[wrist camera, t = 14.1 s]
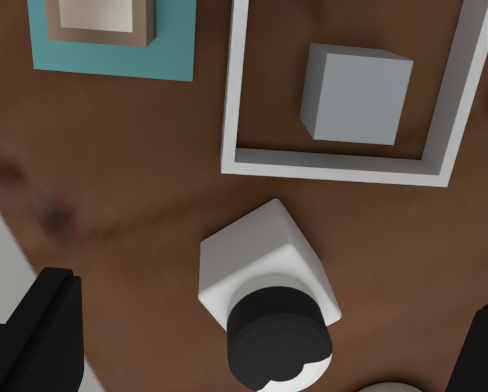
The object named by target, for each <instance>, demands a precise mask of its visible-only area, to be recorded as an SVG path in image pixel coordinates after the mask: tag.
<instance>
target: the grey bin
mask: <svg viewBox="0 0 488 392" xmlns="http://www.w3.org/2000/svg"><path fill="white" fill-rule="evenodd" d="M248 2H249V0H232V9H231V22H230V35H229V49H228V62H227V75H226V88H225V102H224V115H223V128H222V142H221V155H220V161H221V173H228V174H244V175H260V176H277V177H293V178H309V179H325V180H341V181H357V182H373V183H390V184H406V185H422V186H438V187H447V186H448V182H449V179H450V176H451V172H452V169H453V166H454V162H455V159H456V156H457V152H458V149H459V146H460V142H461V139H462V136H463V132H464V129H465V126H466V122H467V119H468V116H469V112H470V109H471V105H472V102H473V99H474V95H475V92H476V89H477V85H478V82H479V79H480V75H481V72H482V69H483V65H484V62H485V59H486V55H487V52H488V0H464V1H463V5H462V8H461V12H460V16H459V20H458V23H457V27H456V31H455V35H454V38H453V42H452V46H451V50H450V53H449V57H448V61H447V65H446V68H445V72H444V76H443V80H442V83H441V87H440V91H439V95H438V98H437V102H436V106H435V110H434V113H433V117H432V121H431V125H430V128H429V132H428V136H427V139H426V143H425V147H424V151H423V154H422V158H421V160H410V159H395V158H380V157H365V156H351V155H336V154H321V153H306V152H291V151H277V150H262V149H247V148H236V137H237V126H238V114H239V103H240V92H241V81H242V69H243V58H244V47H245V36H246V24H247V13H248Z"/></svg>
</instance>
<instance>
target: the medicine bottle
mask: <svg viewBox="0 0 488 392" xmlns="http://www.w3.org/2000/svg"><path fill="white" fill-rule="evenodd" d="M198 298H199V300H200V301H201V302H202V304H203V305H204V306H205V307H206V308H207V309H208V311H209V312H210V313H211V314H212V315H213V316H214V318H215V319H216V320H217V321H218V322H219V323H220V325H221V326H222V327H223V328H224V329H225V330H226V332H227V351H228V363H229V367H230V370H231V372H232V373H233V375H234V376H235V378H236V379H237V380H238V381H239V382H241V383H242V384H243V385H245V386H246V387H248V388H250V389H251V390H254V391H256V392H297V391H300V390H302V389H304V388H306V387H308V386H310V385H311V384H313V383H314V382H315V381H317V380H318V379H319V378H320V377H321V375H322V374H323V373H324V371H325V370H326V369H327V367H328V365H329V363H330V361H331V357H332V342H331V339H330V336H329V333H328V330H327V327H326V326H328V325H330V324H332V323H334V322H336V321H338V320H339V319H340V318H341V312H340V309H339V307H338V304H337V302H336V299H335V297H334V294H333V292H332V289H331V286H330V284H329V281H328V279H327V276H326V274H325V271H324V269H323V266H322V264H321V261H320V259H319V258H318V256H317V255H316V253H315V252H314V250H313V249H312V247H311V246H310V244H309V243H308V241H307V240H306V238H305V237H304V235H303V234H302V232H301V231H300V229H299V228H298V226H297V225H296V223H295V222H294V221H293V219H292V218H291V216H290V215H289V213H288V212H287V210H286V209H285V207H284V206H283V204H282V203H281V201H280V200H279V199H277V198H275V199H273V200H271V201H269V202H267V203H266V204H264V205H262V206H261V207H259V208H257V209H256V210H254V211H252V212H251V213H249V214H247V215H245V216H244V217H242V218H240V219H239V220H237V221H235V222H234V223H232V224H230V225H229V226H227V227H225V228H223V229H222V230H220V231H218V232H217V233H215V234H213V235H212V236H210V237H208V238H207V239H205V240H203V241H202V242H201V244H200V262H199V285H198Z"/></svg>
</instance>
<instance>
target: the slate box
mask: <svg viewBox="0 0 488 392" xmlns="http://www.w3.org/2000/svg"><path fill="white" fill-rule="evenodd" d="M412 65H413V61H412V60H409V59H407V58H404V57H402V56H399V55H396V54H394V53H391V52H389V51H386V50H382V49H371V48H361V47H350V46H339V45H328V44H317V43H310V49H309V56H308V62H307V69H306V76H305V83H304V90H303V96H302V103H301V110H300V117H299V118H300V119H301V121H302V122H303V124H304V125H305V127H306V129H307V130H308V132H309V133H310V135H311V136H312V138H313V139H317V140H331V141H344V142H358V143H372V144H386V145H394V141H395V136H396V132H397V128H398V124H399V120H400V116H401V111H402V107H403V103H404V99H405V95H406V90H407V86H408V82H409V78H410V74H411V70H412Z"/></svg>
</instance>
